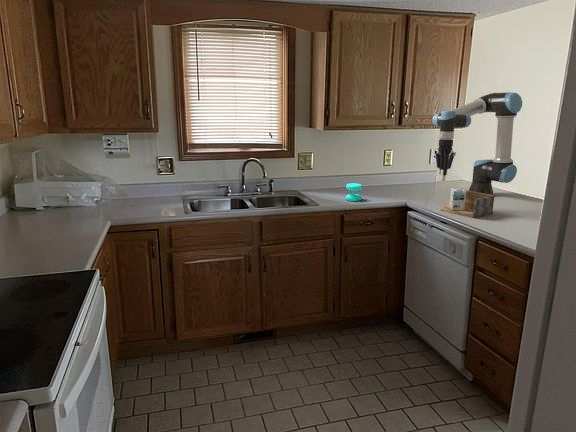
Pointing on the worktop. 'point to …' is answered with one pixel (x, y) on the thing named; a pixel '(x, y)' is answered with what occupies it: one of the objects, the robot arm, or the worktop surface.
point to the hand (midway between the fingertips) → (442, 180)
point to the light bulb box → (457, 199)
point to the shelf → (474, 205)
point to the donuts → (354, 188)
